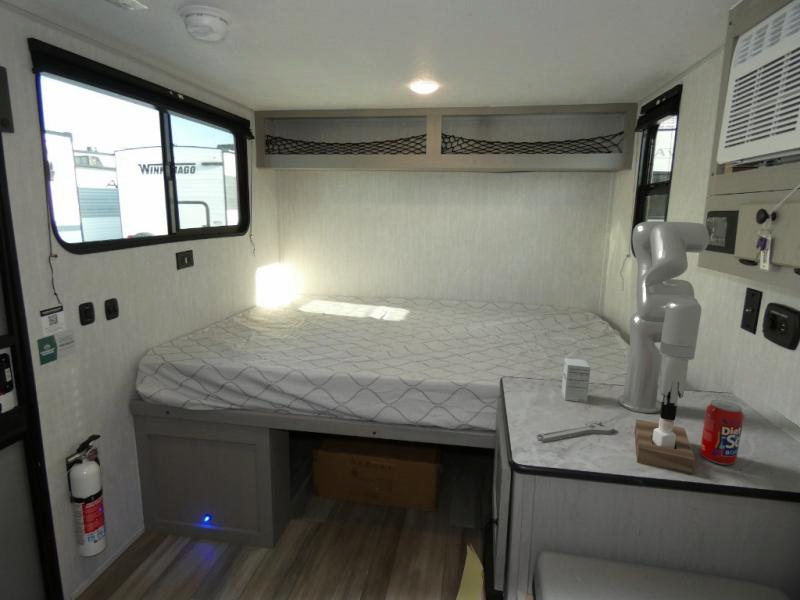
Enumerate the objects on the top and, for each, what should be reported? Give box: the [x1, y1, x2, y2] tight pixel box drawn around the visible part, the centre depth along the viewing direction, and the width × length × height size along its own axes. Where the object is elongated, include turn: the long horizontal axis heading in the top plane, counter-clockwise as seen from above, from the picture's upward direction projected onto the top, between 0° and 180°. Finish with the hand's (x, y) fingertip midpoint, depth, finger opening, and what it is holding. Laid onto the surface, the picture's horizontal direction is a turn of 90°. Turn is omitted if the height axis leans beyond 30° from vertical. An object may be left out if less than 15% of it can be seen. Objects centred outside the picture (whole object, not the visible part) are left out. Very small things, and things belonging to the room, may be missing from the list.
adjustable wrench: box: [535, 420, 615, 443], centre depth 131 cm, size 25×6×2 cm, turn 105°
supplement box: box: [561, 357, 591, 403], centre depth 155 cm, size 7×7×13 cm
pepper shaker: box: [652, 416, 676, 449], centre depth 119 cm, size 4×4×10 cm
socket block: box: [634, 419, 695, 475], centre depth 121 cm, size 18×12×4 cm, turn 155°
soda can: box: [699, 399, 745, 466], centre depth 117 cm, size 8×8×15 cm
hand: (667, 418), depth 117 cm, fingers closed
